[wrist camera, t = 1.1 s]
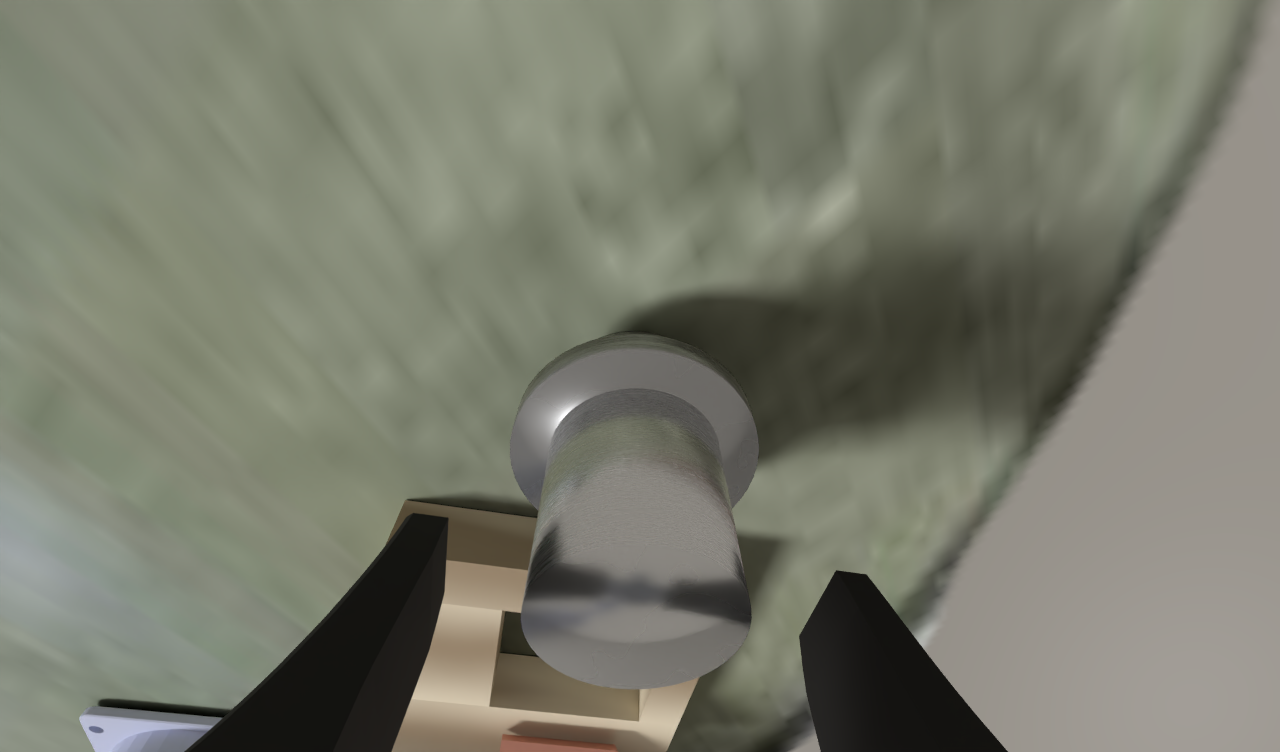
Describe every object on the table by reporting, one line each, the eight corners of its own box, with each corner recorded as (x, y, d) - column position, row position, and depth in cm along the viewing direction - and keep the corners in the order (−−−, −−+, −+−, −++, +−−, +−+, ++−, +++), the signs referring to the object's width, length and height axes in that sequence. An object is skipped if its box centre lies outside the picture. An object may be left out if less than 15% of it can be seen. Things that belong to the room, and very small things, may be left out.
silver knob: (709, 490, 19) (747, 728, 13) (515, 461, 18) (459, 699, 12) (770, 321, 15) (856, 530, 10) (539, 279, 15) (478, 476, 9)
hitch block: (642, 751, 27) (643, 803, 25) (404, 728, 25) (388, 782, 24) (725, 544, 20) (734, 596, 18) (405, 500, 19) (382, 551, 17)
